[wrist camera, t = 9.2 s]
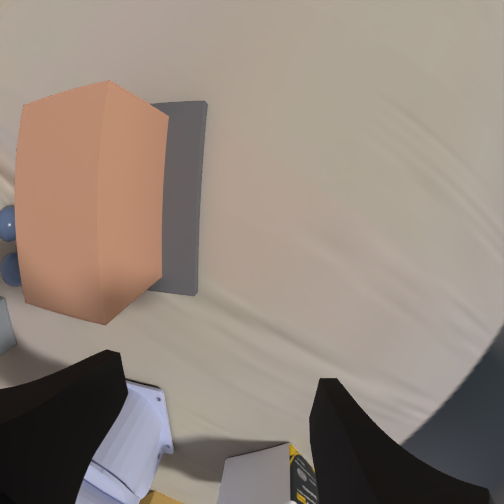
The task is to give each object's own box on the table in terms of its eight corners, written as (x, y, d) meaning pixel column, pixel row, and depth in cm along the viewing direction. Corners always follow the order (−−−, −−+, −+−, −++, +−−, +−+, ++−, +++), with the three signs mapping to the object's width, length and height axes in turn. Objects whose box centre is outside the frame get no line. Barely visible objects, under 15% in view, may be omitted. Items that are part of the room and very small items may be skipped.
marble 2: (37, 283, 19) (15, 294, 17) (18, 278, 20) (-3, 288, 17) (32, 250, 19) (9, 258, 16) (14, 247, 19) (-8, 255, 16)
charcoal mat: (197, 291, 18) (194, 296, 17) (77, 274, 19) (71, 277, 18) (207, 104, 16) (204, 100, 15) (79, 117, 16) (73, 115, 15)
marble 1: (31, 239, 19) (8, 246, 16) (13, 237, 19) (-9, 243, 16) (30, 203, 18) (5, 208, 15) (12, 204, 18) (-11, 208, 15)
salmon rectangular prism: (162, 276, 17) (105, 325, 11) (92, 267, 18) (25, 302, 11) (169, 116, 15) (109, 80, 8) (95, 123, 15) (23, 105, 9)
